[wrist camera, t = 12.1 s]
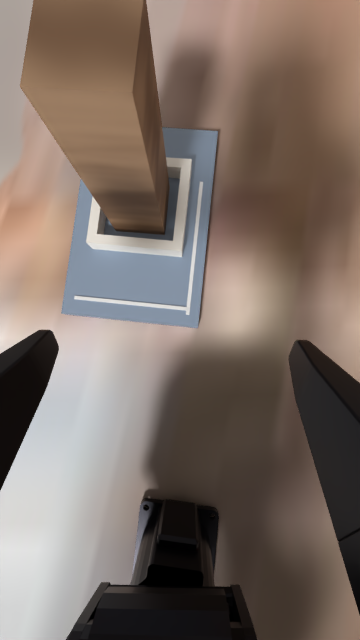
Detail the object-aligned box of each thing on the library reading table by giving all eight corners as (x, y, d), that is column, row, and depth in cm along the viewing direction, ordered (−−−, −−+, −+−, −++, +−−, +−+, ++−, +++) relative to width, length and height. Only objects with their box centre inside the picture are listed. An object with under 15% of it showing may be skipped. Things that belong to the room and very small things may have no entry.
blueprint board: (197, 328, 23) (198, 326, 20) (66, 314, 23) (52, 311, 21) (216, 139, 24) (219, 116, 22) (93, 130, 25) (82, 107, 22)
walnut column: (164, 234, 23) (132, 92, 10) (116, 231, 23) (19, 86, 10) (169, 187, 23) (144, -11, 10) (121, 184, 23) (36, -15, 10)
